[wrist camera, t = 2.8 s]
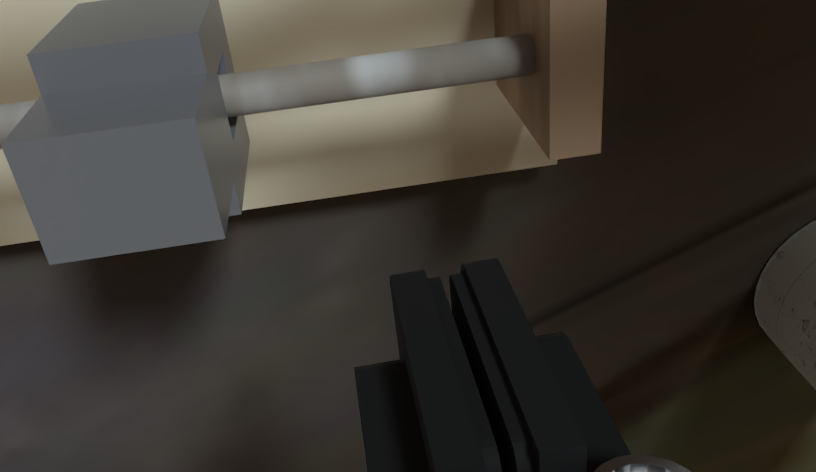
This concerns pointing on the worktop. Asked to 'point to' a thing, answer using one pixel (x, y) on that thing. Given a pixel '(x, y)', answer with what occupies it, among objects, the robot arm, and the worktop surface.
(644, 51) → the worktop surface
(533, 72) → the rail
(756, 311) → the thermos bottle
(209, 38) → the sleeve
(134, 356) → the worktop surface
